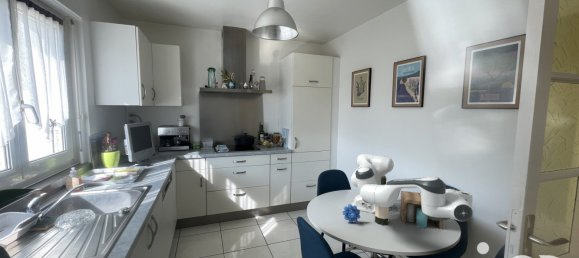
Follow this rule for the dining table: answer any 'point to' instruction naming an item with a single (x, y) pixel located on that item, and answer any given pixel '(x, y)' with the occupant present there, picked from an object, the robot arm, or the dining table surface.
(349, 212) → the blue knobby ball
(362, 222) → the dining table surface
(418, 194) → the cubby
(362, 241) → the dining table surface
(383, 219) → the wine bottle
